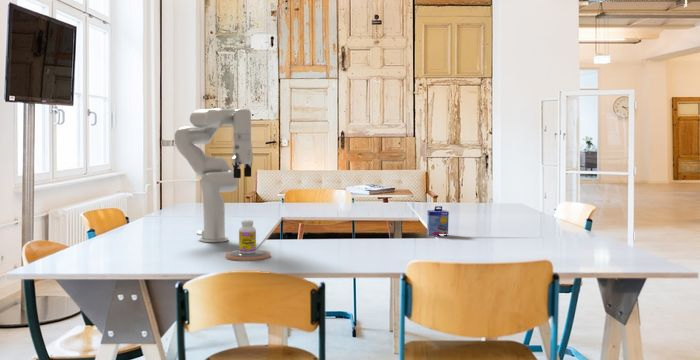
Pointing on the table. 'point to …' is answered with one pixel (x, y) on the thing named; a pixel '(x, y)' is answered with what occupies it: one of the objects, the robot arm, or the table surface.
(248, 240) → the supplement bottle
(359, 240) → the table surface
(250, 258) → the dish
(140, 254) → the table surface
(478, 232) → the table surface
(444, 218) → the ink cartridge box
